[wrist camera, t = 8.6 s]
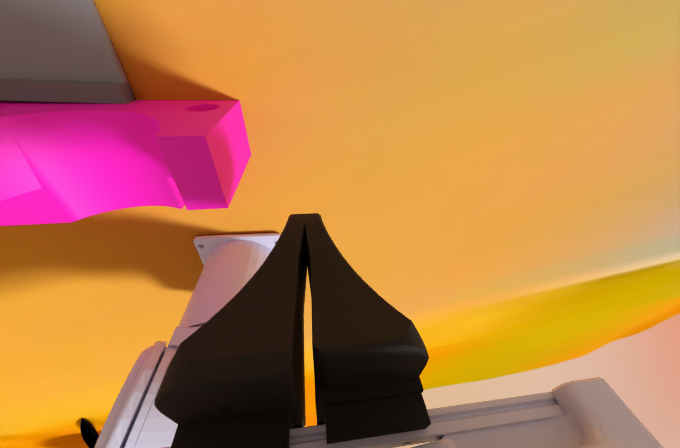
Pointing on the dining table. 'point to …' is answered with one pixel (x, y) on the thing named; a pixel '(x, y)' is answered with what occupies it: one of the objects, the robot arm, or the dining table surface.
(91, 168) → the toy block
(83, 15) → the rubber mat
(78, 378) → the dining table surface
